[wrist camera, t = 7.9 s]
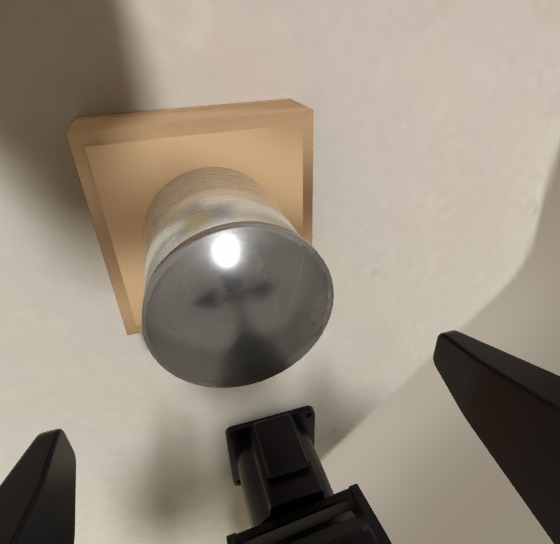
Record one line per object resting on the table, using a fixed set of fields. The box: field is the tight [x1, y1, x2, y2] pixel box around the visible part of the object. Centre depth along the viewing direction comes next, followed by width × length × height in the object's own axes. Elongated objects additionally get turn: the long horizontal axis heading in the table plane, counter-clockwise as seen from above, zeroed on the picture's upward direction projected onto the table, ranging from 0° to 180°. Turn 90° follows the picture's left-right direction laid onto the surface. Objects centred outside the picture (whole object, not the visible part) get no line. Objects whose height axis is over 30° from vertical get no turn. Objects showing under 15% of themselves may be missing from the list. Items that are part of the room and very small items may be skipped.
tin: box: [142, 167, 334, 388], centre depth 14 cm, size 6×6×6 cm
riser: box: [66, 99, 313, 335], centre depth 18 cm, size 9×9×3 cm
